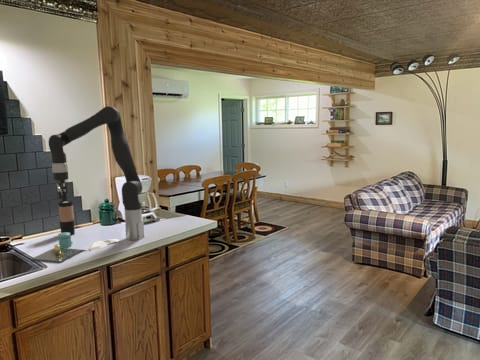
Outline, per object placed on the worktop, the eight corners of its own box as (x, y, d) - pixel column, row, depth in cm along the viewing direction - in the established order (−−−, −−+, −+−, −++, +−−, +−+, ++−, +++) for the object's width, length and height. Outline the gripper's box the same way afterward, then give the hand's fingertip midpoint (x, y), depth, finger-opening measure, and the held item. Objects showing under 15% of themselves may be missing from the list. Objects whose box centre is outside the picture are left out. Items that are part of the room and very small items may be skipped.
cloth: (118, 237, 209) (118, 233, 209) (130, 243, 199) (129, 239, 199) (72, 248, 191) (71, 244, 191) (82, 255, 181) (82, 250, 181)
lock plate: (82, 251, 184) (81, 241, 183) (60, 263, 169) (59, 251, 168) (55, 249, 188) (54, 239, 187) (31, 260, 172) (30, 249, 171)
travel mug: (61, 237, 208) (58, 203, 205) (60, 233, 215) (58, 200, 212) (75, 235, 212) (73, 202, 208) (74, 231, 218) (72, 199, 215)
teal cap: (67, 243, 197) (66, 230, 196) (76, 243, 196) (75, 231, 195) (54, 249, 188) (52, 236, 187) (63, 250, 187) (62, 237, 186)
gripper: (70, 171, 194) (73, 201, 196) (64, 169, 205) (67, 197, 207) (55, 173, 189) (58, 203, 192) (50, 170, 201) (52, 199, 203)
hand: (62, 200), depth 200 cm, fingers open, 8 cm apart
